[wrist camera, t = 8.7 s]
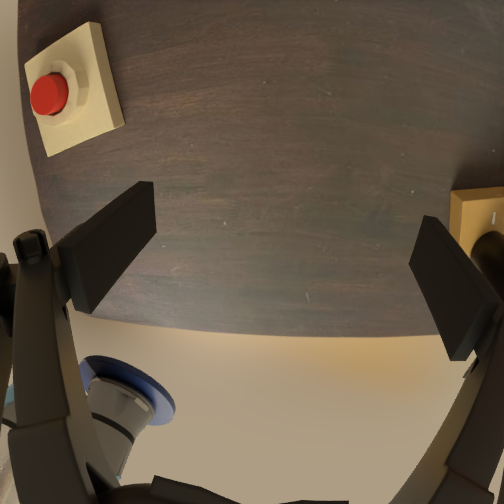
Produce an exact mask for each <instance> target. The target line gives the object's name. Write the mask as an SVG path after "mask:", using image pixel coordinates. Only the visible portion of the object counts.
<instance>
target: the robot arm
mask: <svg viewBox="0 0 504 504" xmlns="http://www.w3.org/2000/svg"><path fill="white" fill-rule="evenodd" d="M156 232H157V231H156V219H155V204H154V188H153V182H146V181H139V182H137V183H136V184H135V185H133V186H132V187H131V188H129V189H128V190H126V191H125V192H124V193H122V194H121V195H120V196H118V197H117V198H116V199H114V200H113V201H112V202H110V203H109V204H108V205H106V206H105V207H104V208H102V209H101V210H100V211H99V212H97V213H96V214H95V215H94V216H92V217H91V218H90V219H89V220H87V221H86V222H84V223H82V224H80V225H78V226H76V227H75V228H74V229H73V230H72V231H70V233H68V234H67V235H66V236H64V238H62V239H61V240H60V241H58V242H57V243H56V244H55V245H54V246H53V247H51V248H50V249H49V247H48V243H47V239H46V235H45V232H44V231H43V230H41V229H40V230H39V229H35V230H29V231H27V232H24V233H22V234H20V235H18V236H17V237H16V238H15V239H14V241H13V246H14V249H15V252H16V255H17V259H18V262H19V264H9V263H8V260H7V257H6V255H5V254H4V253H0V504H240V503H238V502H235V501H232V500H230V499H228V498H225V497H223V496H220V495H218V494H216V493H213V492H211V491H209V490H207V489H204V488H202V487H199V486H194V485H190V484H186V483H182V482H178V481H174V480H171V479H167V478H163V477H160V476H156V475H154V478H153V481H152V484H149V483H144V484H131V485H124V486H120V484H119V482H118V481H119V479H121V474H122V472H123V469H124V466H125V464H126V461H127V459H128V456H129V454H130V451H131V448H132V446H133V443H134V441H135V438H136V437H137V436H138V434H139V433H140V432H141V431H142V430H143V429H144V428H145V426H146V425H147V424H149V423H150V422H151V421H152V420H153V417H154V415H155V412H156V407H155V405H154V403H153V401H152V400H151V399H150V398H149V397H148V396H147V395H146V394H145V393H144V392H143V391H141V390H140V389H139V388H137V387H136V386H134V385H132V384H131V383H129V382H127V381H125V380H123V379H120V378H118V377H115V376H111V375H106V374H98V375H95V376H94V377H93V378H92V380H91V381H90V383H89V385H88V396H86V394H85V390H84V386H83V382H82V378H81V374H80V370H79V365H78V361H77V357H76V352H75V347H74V342H73V336H72V331H71V326H70V320H69V313H68V309H67V306H66V303H67V302H68V301H69V299H70V298H71V299H72V302H73V305H74V308H75V310H77V311H80V312H84V313H88V314H92V312H93V311H94V310H95V308H96V307H97V306H98V304H99V303H100V302H101V300H102V299H103V298H104V296H105V295H106V294H107V293H108V291H109V290H110V289H111V287H112V286H113V285H114V284H115V282H116V281H117V280H118V278H119V277H120V276H121V275H122V273H123V272H124V271H125V270H126V269H127V267H128V266H129V265H130V264H131V262H132V261H133V260H134V259H135V257H136V256H137V255H138V254H139V253H140V251H141V250H142V249H143V248H144V247H145V245H146V244H147V243H148V242H149V241H150V239H151V238H152V237H153V236H154V235H155V234H156ZM409 266H410V268H411V270H412V272H413V274H414V276H415V278H416V280H417V282H418V285H419V287H420V289H421V291H422V293H423V295H424V298H425V300H426V302H427V304H428V307H429V309H430V311H431V314H432V316H433V318H434V321H435V323H436V326H437V328H438V331H439V333H440V336H441V338H442V341H443V343H444V346H445V348H446V351H447V354H448V356H449V359H450V361H466V360H467V358H468V357H469V355H470V353H471V352H472V351H473V349H474V351H475V353H476V355H477V357H476V359H475V360H474V362H473V363H472V364H471V366H470V367H469V369H468V370H467V371H466V373H465V374H464V376H463V378H465V377H466V378H465V381H464V383H463V385H462V387H461V389H460V391H459V393H458V396H457V398H456V399H455V401H454V404H453V405H452V407H451V409H450V412H449V413H448V415H447V417H446V419H445V421H444V422H443V424H442V426H441V428H440V430H439V431H438V433H437V435H436V436H435V438H434V440H433V441H432V443H431V445H430V446H429V448H428V449H427V451H426V453H425V454H424V456H423V457H422V459H421V460H420V462H419V464H418V465H417V466H416V468H415V470H414V471H413V473H412V474H411V475H410V477H409V478H408V479H407V481H406V482H405V484H404V485H403V486H402V488H401V489H400V490H399V492H398V493H397V494H396V496H395V497H394V498H393V499H392V501H391V502H390V503H389V504H493V501H494V493H492V492H490V491H488V488H489V485H490V482H491V480H492V477H493V475H494V473H495V470H496V468H497V465H498V463H499V460H500V457H501V455H502V452H503V449H504V302H503V301H502V299H501V298H500V296H499V295H498V293H497V292H495V289H494V288H493V286H491V283H490V282H489V280H488V279H487V278H486V276H485V275H483V274H482V273H481V272H480V271H479V270H478V269H477V268H476V266H475V265H474V264H473V262H472V261H471V260H470V258H469V257H468V256H467V254H466V253H465V252H464V250H463V249H462V248H461V246H460V245H459V244H458V243H457V241H456V240H455V239H454V238H453V236H452V235H451V234H450V233H449V231H448V230H447V229H446V228H445V227H444V225H443V224H442V223H441V222H440V221H439V219H438V218H436V217H431V216H426V215H424V217H423V220H422V224H421V227H420V230H419V234H418V237H417V240H416V243H415V246H414V250H413V253H412V256H411V259H410V262H409ZM12 364H13V383H12V384H11V385H10V386H8V382H9V378H10V373H11V368H12ZM281 504H349V501H310V500H300V501H294V502H288V503H281ZM497 504H504V470H503V476H502V482H501V487H500V492H499V497H498V501H497Z"/></svg>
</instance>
